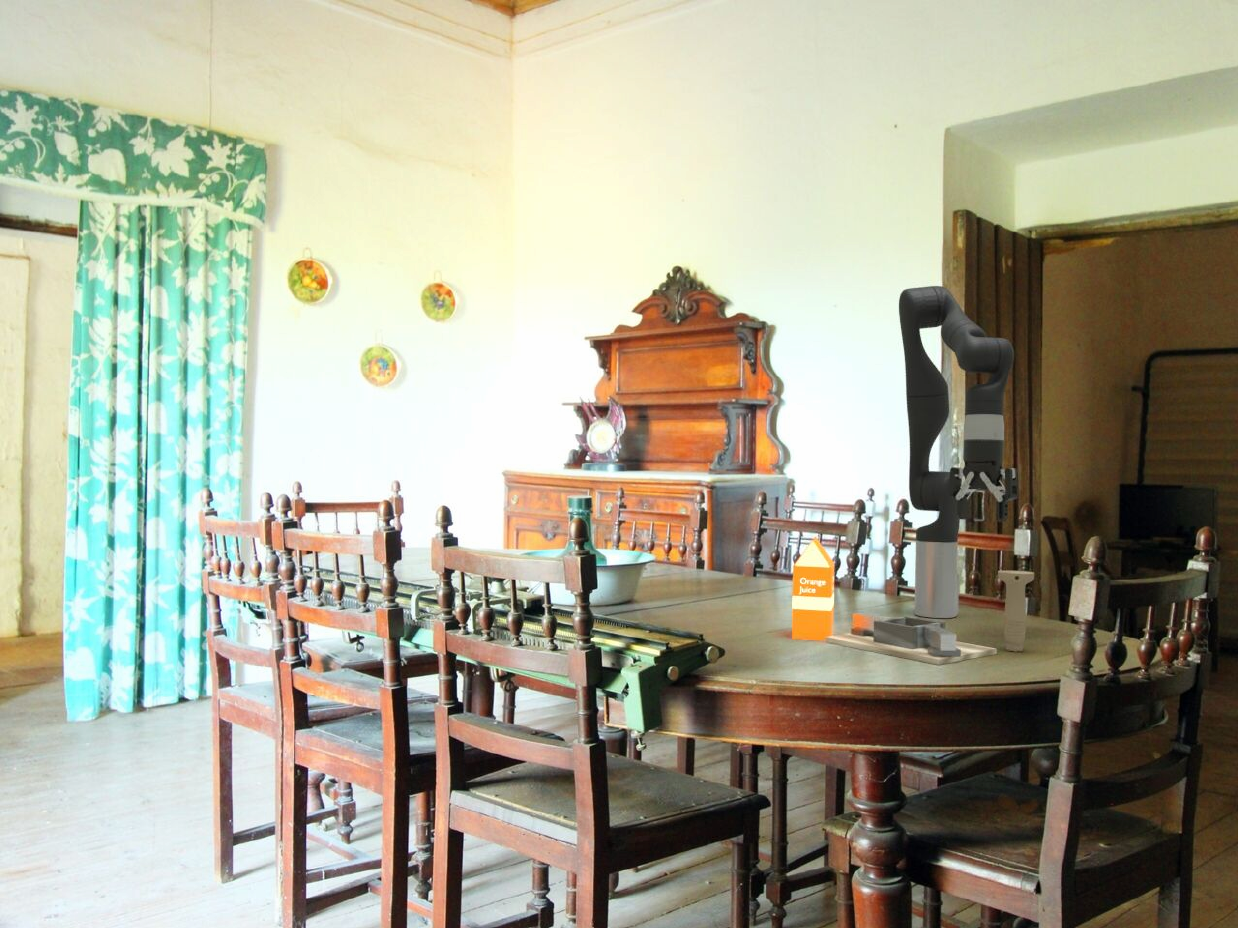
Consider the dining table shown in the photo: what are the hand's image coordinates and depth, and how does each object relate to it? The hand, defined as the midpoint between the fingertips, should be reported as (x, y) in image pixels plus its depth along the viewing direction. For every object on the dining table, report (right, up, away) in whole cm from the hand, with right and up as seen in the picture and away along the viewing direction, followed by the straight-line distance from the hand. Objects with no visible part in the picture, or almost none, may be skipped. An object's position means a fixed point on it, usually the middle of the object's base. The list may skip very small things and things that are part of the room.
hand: (981, 520), depth 204 cm
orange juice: (-32, -24, +6) cm, 41 cm away
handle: (+4, -25, -7) cm, 26 cm away
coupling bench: (-16, -24, -6) cm, 30 cm away
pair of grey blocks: (-18, -23, -8) cm, 30 cm away
